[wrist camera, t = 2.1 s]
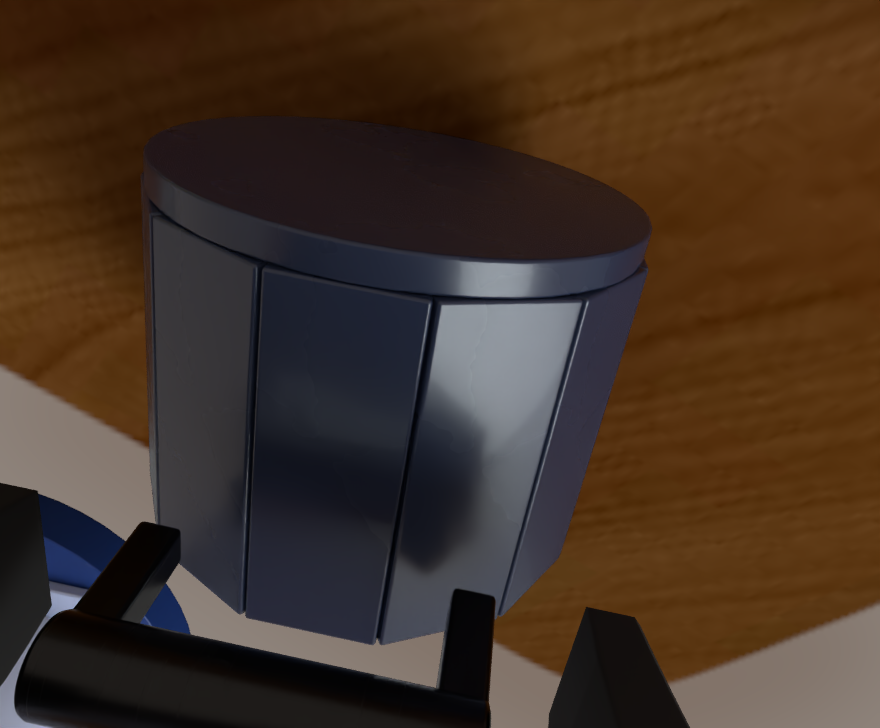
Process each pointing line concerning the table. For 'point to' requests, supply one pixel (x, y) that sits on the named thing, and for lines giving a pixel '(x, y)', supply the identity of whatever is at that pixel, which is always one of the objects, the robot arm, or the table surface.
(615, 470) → the table surface
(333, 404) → the pot
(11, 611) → the robot arm
